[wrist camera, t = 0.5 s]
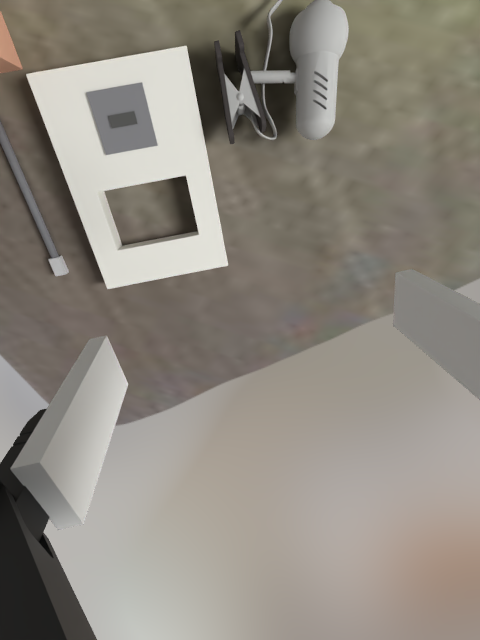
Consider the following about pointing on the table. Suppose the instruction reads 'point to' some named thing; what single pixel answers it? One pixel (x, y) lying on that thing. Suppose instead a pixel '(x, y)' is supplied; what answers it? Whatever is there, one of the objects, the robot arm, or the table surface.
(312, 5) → the clip-on lamp
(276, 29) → the table surface
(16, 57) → the block
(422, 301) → the robot arm
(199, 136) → the outlet plate
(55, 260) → the cable
